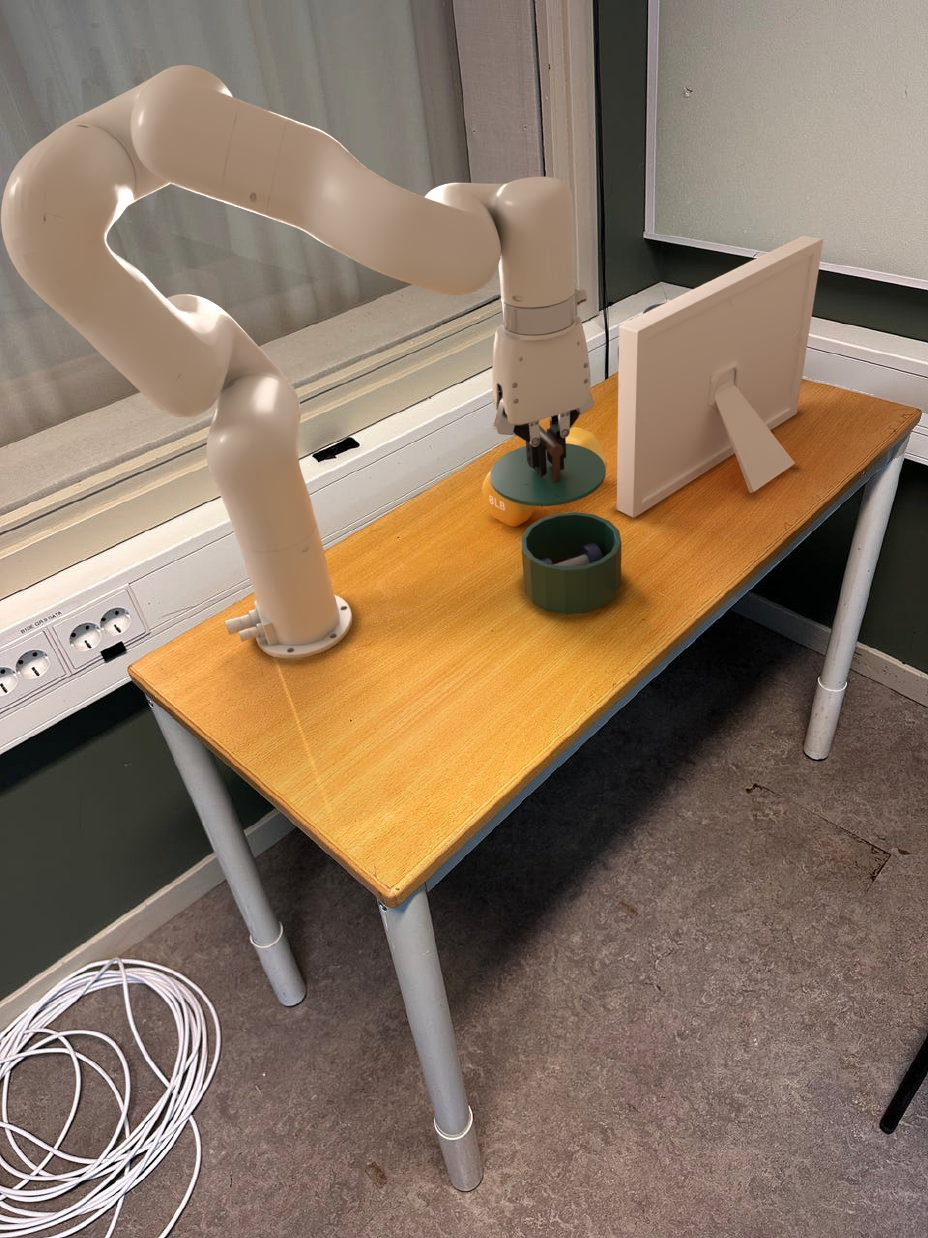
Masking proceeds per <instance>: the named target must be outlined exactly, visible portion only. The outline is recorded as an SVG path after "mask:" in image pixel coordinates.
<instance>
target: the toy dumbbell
mask: <svg viewBox="0 0 928 1238" xmlns="http://www.w3.org/2000/svg"><path fill="white" fill-rule="evenodd" d="M602 558H603V555H602V552H601V550H600V549H599V547H598V546H597V545H596V544H595V543H590V544H587V545H584V546H581V547H580V549H579V556H578V557H575V558H568V559H565V560H563V561H560V562H557V563H554V562H552V561H551V560H550V559H549V558H544V559H541V561H543V562H545V563H547V564H551V565H557V566H563V567H570V566H584V565H587V564H590V563H593V562H596V561H599V560H601V559H602Z"/></svg>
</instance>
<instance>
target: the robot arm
mask: <svg viewBox="0 0 928 1238" xmlns="http://www.w3.org/2000/svg"><path fill="white" fill-rule="evenodd" d="M169 185H173V186H176V187H178V188H181V189H184V190H187V191H190V192H192V193H195V194H199V195H202V196H205V197H206V198H210V199H213V200H216V201H219V202H223V203H225V204H228V205H231V206H233V207H237V208H240V209H243V210H246V211H249V212H252V213H255V214H258V215H261V216H263V217H266V218H268V219H272V220H273V221H277V222H280V223H283V224H286V225H288V226H290V227H294V228H297V229H298V230H301V231H302V232H305V233H307V234H308V235H309V236H311V237H312V238H314V239H315V240H317V241H318V242H319V243H322V244H323V245H326V246H327V247H329V248H331V249H333V250H335V251H336V252H338V253H340V254H343V255H344V256H346V257H347V258H350V260H353V261H355V262H357V263H358V264H360V265H362V266H364V267H366V268H368V269H370V270H372V271H375V272H377V273H380V274H382V275H383V276H384V275H385V276H387V277H390V278H392V279H396V280H398V281H401V282H404V283H406V284H407V283H408V284H409V285H413V286H416V287H420V288H421V289H425V290H427V291H432V292H435V293H438V294H443V295H448V296H465V295H466V296H467V295H469V294H472V293H476V292H478V291H480V290H481V289H483V288H485V286H487V284H489V283H490V282H491V281H492V279H493V277H495V275H496V273H497V271H498V277H499V289H500V303H501V314H502V324H501V325H499V326H497V327H496V328H495V333H494V339H493V348H492V349H493V350H492V367H491V368H492V372H491V373H492V375H491V376H492V377H491V379H492V402H493V406H494V409H495V410H496V415H495V419H494V422H493V425H492V427H493V429H494V431H496V432H497V434H499V435H505V436H517V437H518V438H520V439H522V440H523V441H524V442H525V446H526V453H527V462H528V465H529V466H530V467H531V468H533V469H534V470H535V471H536V472H537V473H538V474H539V475H540V476H544V475H546V474H547V464H546V449H545V444H544V443H543V442H541V438H540V428H539V425H540V421H541V420H545V419H549V428H546V432H547V433H548V434H549V435H550V436H552V437H553V438H554V439H555V440H556V441H557V442H558V443H559V444H560V445H561V446H562V447H563V453H562V455H561V456H560V470H564V458H566V437H568V436H569V434H570V429H571V428H573V425H574V424H575V423H576V422H577V420H578V418H579V417H580V416H582V415H583V414H585V413H587V412H588V411H589V410H590V409H592V408H593V407H594V406H595V401H594V397H593V396H592V394H591V393H592V392H591V391H592V390H591V389H592V385H591V384H592V382H591V381H592V380H591V379H592V378H591V366H590V358H589V351H588V345H587V339H586V334H585V330H584V326H583V323H582V319H581V317H580V316H579V315H578V306H580V305H581V304H582V303H586V302H587V299H588V298H587V292H586V290H585V289H584V288H581V289H577V288H576V275H575V274H576V273H575V271H576V270H575V240H574V237H575V234H574V233H575V232H574V203H573V195H572V194H573V193H572V190H571V189H570V187H569V185H568V184H567V183H566V182H565V181H563V180H562V179H559V178H555V177H552V176H530V177H523V178H519V179H514V180H512V181H509V182H507V183H477V182H476V183H474V182H450V183H445V184H441V185H439V186H437V187H434V188H432V190H430V191H429V192H427V194H426V195H425V196H423V195H420V194H417V193H416V192H412V191H410V190H407V189H406V188H403V187H401V186H399V185H396V184H395V183H394V182H391V181H389V180H387V179H385V178H384V177H382V176H380V175H378V174H377V173H375V172H374V171H372V170H370V169H369V168H368V167H366V166H365V165H364V164H362V163H361V161H359V160H358V159H357V158H356V157H355V156H354V155H353V154H352V153H350V151H349V150H348V149H347V148H345V146H344V145H343V144H342V143H341V142H339V141H338V140H336V139H335V138H334V137H332V136H331V135H330V134H328V133H327V132H325V131H323V130H321V129H319V128H317V127H314V126H312V125H309V124H305V123H302V122H300V121H297V120H295V119H292V118H288V117H286V116H285V115H284V116H283V115H282V114H278V113H276V112H273V111H270V110H268V109H265V108H262V107H260V106H257V105H255V104H252V103H249V102H247V101H244V100H242V99H239V98H237V97H235V96H233V94H232V92H231V91H230V90H229V89H228V87H227V85H226V84H225V83H224V82H223V81H222V80H221V79H220V78H219V77H218V76H216V75H215V74H213V73H212V72H210V71H208V70H207V69H204V68H202V67H199V66H195V65H191V64H189V65H188V64H179V65H174V66H170V67H168V68H166V69H164V70H162V71H160V72H158V73H157V74H155V75H153V76H152V77H150V78H148V79H147V80H145V81H143V82H142V83H140V84H138V85H136V86H135V87H133V88H131V89H129V90H127V91H125V92H123V93H121V94H120V95H117V96H115V97H114V98H112V99H110V100H107V101H106V102H103V103H102V104H100V105H99V106H96V107H94V108H92V109H90V110H88V111H87V112H84V113H83V114H80V115H79V116H76V117H75V118H73V119H71V120H69V121H67V122H65V123H64V124H62V125H61V126H59V127H58V128H57V129H55V130H53V132H52V133H50V134H48V136H46V137H45V138H44V139H42V140H40V141H39V142H37V143H36V144H35V145H33V147H31V148H30V149H29V150H28V151H27V152H26V153H24V155H23V156H22V157H21V159H19V161H18V162H17V164H16V165H15V166H14V168H13V170H12V172H11V173H10V175H9V178H8V179H7V183H6V185H5V188H4V192H3V196H2V200H1V208H0V225H1V226H0V227H1V233H2V239H3V242H4V246H5V249H6V251H7V255H8V256H9V259H10V260H11V262H12V264H13V266H14V268H15V269H16V271H17V272H18V274H19V275H20V277H21V278H22V279H23V280H24V281H25V283H26V285H27V286H28V287H30V289H31V290H32V291H33V292H34V293H35V294H36V295H37V296H38V297H39V298H40V299H41V300H43V302H45V303H46V304H47V305H48V306H49V307H50V308H51V309H52V310H54V311H55V312H56V313H57V314H58V315H59V316H61V317H62V318H63V320H64V321H66V322H67V323H69V324H70V325H71V326H72V327H73V328H74V329H75V330H76V331H77V332H78V333H79V334H80V335H81V336H82V337H83V338H84V339H86V341H88V343H89V344H90V345H91V346H92V347H93V348H94V349H95V350H96V351H97V352H98V353H99V354H100V355H101V356H102V357H103V358H104V359H106V360H107V362H109V363H110V365H112V366H113V368H115V369H116V370H117V371H118V372H119V373H120V374H121V375H122V376H123V377H125V379H127V380H128V382H130V383H131V384H132V385H133V386H134V387H135V388H136V389H137V390H138V391H139V392H140V393H141V394H142V395H143V396H144V397H145V398H146V399H148V401H150V403H152V405H154V406H155V407H157V408H158V409H159V410H161V411H163V412H164V413H166V414H168V415H170V416H173V417H176V418H181V419H182V418H183V419H190V418H191V419H192V418H196V417H198V416H200V415H202V414H204V413H206V412H207V411H208V410H209V409H212V411H213V412H214V413H213V415H212V418H211V422H210V425H209V429H208V433H207V438H206V449H205V451H206V454H205V455H206V456H205V457H206V463H207V467H208V468H207V469H208V472H209V474H210V477H211V480H212V481H213V484H214V486H215V488H216V491H217V492H218V494H219V496H220V498H221V501H222V502H223V504H224V507H225V509H226V513H227V515H228V518H229V520H230V523H231V527H232V530H233V532H234V536H235V539H236V541H237V544H238V546H239V550H240V553H241V556H242V559H243V563H244V565H245V569H246V571H247V574H248V575H247V576H248V578H249V581H250V584H251V587H252V590H253V593H254V597H255V599H256V600H254V601H253V603H254V606H255V608H254V609H251V610H248V614H244V615H242V616H236V617H234V618H231V619H226V620H224V623H225V626H226V629H227V632H228V635H229V636H232V635H235V634H238V635H239V638H240V641H241V642H242V643H243V642H247V641H250V640H252V639H254V638H255V640H256V643H257V645H258V647H259V648H260V649H261V650H262V651H263V652H264V653H266V655H268V656H271V657H273V658H282V659H303V658H308V657H312V656H316V655H319V654H320V653H324V652H325V651H328V650H330V649H331V648H333V647H334V646H336V645H337V644H338V643H340V642H341V641H342V640H343V639H344V638H345V637H346V635H347V634H348V633H349V631H350V629H351V628H352V624H353V613H352V610H351V607H350V605H349V603H348V602H347V601H346V600H345V599H344V598H342V597H340V596H339V595H337V594H335V591H334V587H333V582H332V579H331V574H330V569H329V566H328V563H327V558H326V555H325V550H324V547H323V542H322V539H321V534H320V530H319V525H318V522H317V519H316V515H315V510H314V505H313V503H312V499H311V495H310V492H309V489H308V487H307V484H306V481H305V478H304V475H303V472H302V468H301V464H300V459H299V450H298V449H299V448H298V447H299V437H300V423H301V412H302V411H301V403H300V399H299V396H298V392H297V391H296V389H295V387H294V385H293V384H292V383H291V381H290V380H289V379H288V378H287V376H286V375H285V373H284V372H283V371H282V370H281V369H280V368H279V367H278V366H277V365H276V364H275V362H273V360H272V359H271V358H270V357H269V356H268V355H267V354H266V352H264V350H263V349H262V348H261V347H260V346H258V344H257V343H256V342H255V341H254V340H253V339H252V337H251V336H250V335H248V333H246V331H245V330H244V329H243V328H242V327H241V326H240V325H239V324H238V322H236V320H235V319H234V318H233V317H232V316H231V315H230V314H229V313H228V312H227V311H225V310H224V309H223V308H222V307H220V306H219V305H217V304H216V303H214V302H213V301H211V300H209V299H207V298H204V297H202V296H199V295H195V294H189V293H185V294H183V293H182V294H181V293H180V294H174V295H171V296H168V297H165V296H164V295H163V294H162V293H161V292H160V291H159V290H158V289H157V288H156V287H155V286H154V285H153V283H152V282H151V281H150V280H149V279H148V278H147V276H146V275H145V274H143V273H142V272H141V271H140V270H139V269H138V268H137V267H135V266H134V265H133V264H132V263H130V262H128V261H127V260H126V259H124V258H123V257H121V256H120V255H118V254H117V253H116V252H114V251H113V250H112V248H111V247H110V246H109V244H108V242H107V236H108V233H109V231H110V230H111V228H112V226H113V225H114V224H115V223H116V222H117V221H118V220H119V218H120V217H121V216H122V214H123V213H124V211H126V209H127V208H128V206H130V205H132V204H133V203H135V202H137V201H139V200H141V199H142V198H144V197H148V195H150V194H153V193H155V192H157V191H159V190H161V189H163V188H164V187H167V186H169ZM547 460H548V461H549V462H550V463H551V464H552V456H551V455H550V454H549V453H548V452H547Z"/></svg>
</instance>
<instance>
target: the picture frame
mask: <svg viewBox="0 0 928 1238" xmlns="http://www.w3.org/2000/svg"><path fill="white" fill-rule="evenodd" d="M823 244H824V239H823V238H819V237H813V236H808V235H802V236H799V237H798V238H796V239H793V240H792V241H789V242H787V243H785V244H783V245H781V246H779V247H777V248H775V249H773V250H771V251H769V252H766V253H765V254H763V255H761V256H759V257H756V258H754V259H752V260H750V261H748V262H746V263H744V264H742V265H740V266H738V267H737V268H734V269H732V270H730V271H728V272H726V273H724V274H722V275H719V276H718V277H716V278H714V279H712V280H710V281H707V282H704V283H703V284H701V285H700V286H698V287H695V288H693V289H692V290H689V291H687V292H685V293H683V294H681V295H679V296H677V297H675V298H672V299H671V300H669V301H666V302H667V303H666V302H664V303H665V304H662V305H660V306H658V307H656V308H654V309H652V310H650V311H648V312H646V313H644V314H643V313H642V314H640V315H638V316H636V317H634V318H632V319H630V320H628V321H625V322H624V323H622V324H620V325H619V327H618V345H619V362H618V361H617V368H618V370H617V371H618V375H617V378H618V379H617V382H618V383H617V452H616V453H617V457H616V458H617V460H616V461H617V463H616V467H617V469H616V510H617V511H619V512H621V513H623V514H625V515H627V516H629V517H631V518H632V519H635V518H636V517H638V516H639V515H641V514H642V513H644V512H645V511H647V510H649V509H650V508H652V507H653V506H655V505H657V504H658V503H660V502H661V501H662V500H664V499H666V498H667V497H669V496H671V495H672V494H674V493H675V492H677V491H678V490H680V489H681V488H683V487H685V486H686V485H688V484H690V483H691V482H692V481H694V480H695V479H697V478H698V477H700V476H702V475H703V474H704V473H706V472H708V471H710V470H711V469H713V468H715V466H717V465H719V464H721V463H722V462H723V461H725V460H726V459H728V458H730V457H732V456H733V455H734V454H735V457H736V460H737V463H738V464H739V468H740V471H741V473H742V476H743V479H744V481H745V484H746V487H747V490H748V492H749V494H752V493H754V492H756V491H757V490H759V489H761V488H763V486H765V485H766V484H767V483H769V482H770V481H772V480H774V479H775V478H776V477H777V476H779V475H781V474H782V473H783V472H785V471H786V470H788V469H789V468H791V467H792V466H794V465H795V464H796V462H795V461H794V460H793V459H792V458H791V456H790V455H789V453H788V452H787V451H786V449H785V448H784V447H783V446H782V444H781V443H780V442H779V440H778V439H777V438H776V436H775V435H774V434H773V432H772V431H773V429H775V428H777V427H778V426H779V425H781V424H783V423H784V422H786V421H787V420H789V419H791V418H792V417H794V416H795V415H797V413H798V408H799V400H800V395H801V387H802V380H803V375H804V369H805V363H806V355H807V349H808V343H809V336H810V330H811V329H810V328H811V322H812V316H813V315H812V314H813V309H814V303H815V296H816V289H817V283H818V276H819V270H820V262H821V257H822V250H823Z"/></svg>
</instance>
